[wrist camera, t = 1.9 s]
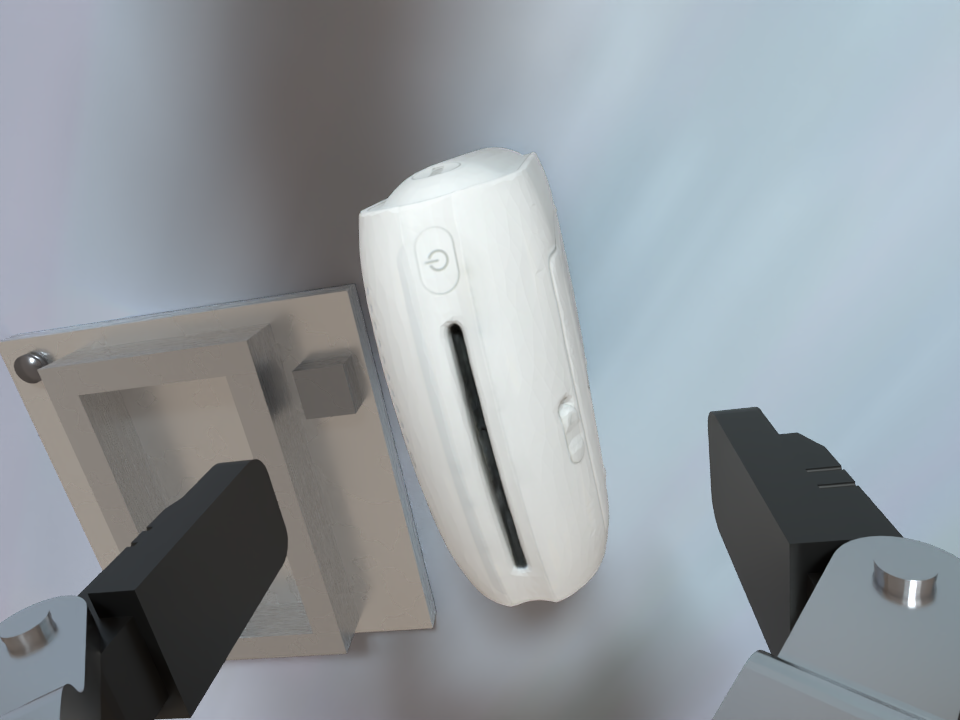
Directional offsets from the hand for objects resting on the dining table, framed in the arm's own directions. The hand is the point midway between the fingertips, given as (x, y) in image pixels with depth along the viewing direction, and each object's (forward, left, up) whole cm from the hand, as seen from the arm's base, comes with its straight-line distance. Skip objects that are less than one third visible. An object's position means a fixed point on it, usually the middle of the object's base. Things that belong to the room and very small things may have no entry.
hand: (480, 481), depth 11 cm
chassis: (+7, -14, -13) cm, 20 cm away
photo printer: (0, 0, -13) cm, 13 cm away
